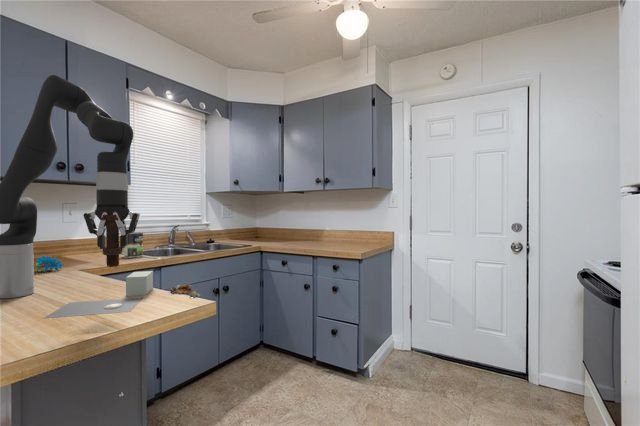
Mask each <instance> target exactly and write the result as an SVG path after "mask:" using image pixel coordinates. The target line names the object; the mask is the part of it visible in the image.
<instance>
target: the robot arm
mask: <svg viewBox="0 0 640 426" xmlns="http://www.w3.org/2000/svg"><path fill="white" fill-rule="evenodd" d="M54 107H56V108H59V109H61V110H64V111H67V112H68V113H74V114H76V117H77V118H78V119H77V120H79V121H80V122H81V123H82V124H83V125H84V126H85V127H86V128H87V130H88V133H89V135H90V136H89V137H91V139H93V140H94V141H96V142H99V143H104V144H110V145H115V146H114V149H113V150H110V151H109V150H108V151H101V152H98V154H97V158H96V159H97V161H96V162H97V163H96V164H97V165H96V166H97V167H96V169H97V170H96V172H97V174H96V178H95V179H96V185H95V186H96V187H95V189H96V191H95V192H96V193H95V194H96V199H95V200H96V207H95V210H94V211H92V212H85V213H83V219H84V221H85V224H86V227H87V230H88V232H89V234H93V235H96V239H97V240H96V242H97V243H96V245H97V247H98V248H99V250H103V249H104V248H106V231H107V229H106V225H105V224H106V220H101V218H102V217H103V215H117V218H118V220H115V221H116V224H117V226H118V229H119V234H120V235H119V247H120V248H122V249H124V248H125V246H127V244H128V243H127V236H128V234H130V233H136V232H135V231H136V229H137V225H138V222H139V219H140V216H141V214H140V213H138V212H133V211H131V210H130V209H129V207H128V206H129V205H128V203H129V200H128V199H129V198H128V197H129V192H128V191H129V190H128V189H129V185H128V184H129V183H128V182H129V181H128V173H127V170H128V169H127V166H128V165H127V160H128V155H129V152H130V149H131V146H132V143H133V139H134V130H133V128H132V126H131V125H130V123H129V122H126V121H123V120H119V119H113V118H112V116H111V114H109V112H107V111H106V110H104V109H103V108H102V107H101V106H99V105H98V104H96V103H95V102H94V100H93V99H92V97H91V96H90V94H89V93H88V92H87V91H86V90H85V89H84V88H83V87H81V86H79V85H78V84H76V83H73V82H71V81H70V80H68V79H65V78H63V77H61V76H59V75H57V74H51V75H49V76H48V77H47V78H46V79H45V80H44V82H43V83H42V85H41V88H40V91H39V93H38V96H37V100H36V102H35V105H34V109H33V112H32V114H31V118H30V120H29V122H28V123H27V126H26V129H25V130H24V132H23V135H22V137H21V138H20V141H19V143H18V145H17V147H16V149H15V152H14V154H13V157H12V160H11V161H10V163H9V164H10V165H8V169H7V170H6V172H5V174H4V176H3V178H2V180H1V181H0V225H9V227H8V229H6V231H4V232H3V233H0V299H13V298H20V297H25V296H29V295H32V294H34V293H35V283H34V282H35V269H34V268H35V264H34V259H35V258H34V257H35V256H34V238H35V237H36V234H37V227H38V223H37V222H38V208H37V204H36V202H35V201H34V199H32V198H30V197H28V196H22V195H23V193H24V192H25V190H26V189H27V188H28V186H29V185H31V184H32V183H33V182H34V181H35V180H37V179H38V178H39V177H41V176H42V175H43V174H44V173H45V172H46V171H47V170H48V169H49V168H50V167H51V165H52V163H53V161H54V159H55V157H56V154H57V152H58V142H57V138H56V136H55V132H54V129H53V125H52V113H53V109H54ZM101 215H102V217H101ZM119 215H121V216H122V220H120V218H119ZM96 217H97V218H98V220H99V222H98V223H99V224H98V227H97V225H96V222H95V220H96ZM128 217H129V219H130V222H129V226H128V229H127V223H126V222H125V220H126V219H127V218H128Z"/></svg>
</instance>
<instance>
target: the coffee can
mask: <svg viewBox="0 0 640 426" xmlns="http://www.w3.org/2000/svg"><path fill="white" fill-rule="evenodd" d="M127 243H128V244H127V246H125V248H123V258H124V259H129V258H130V259H131V258H133V259H135V258H141V257H143V256H144V232H133V233H130V234H128V236H127Z"/></svg>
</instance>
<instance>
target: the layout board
mask: <svg viewBox="0 0 640 426" xmlns="http://www.w3.org/2000/svg"><path fill="white" fill-rule="evenodd" d="M143 299H144V297H134V298H133V297H129V298H116V299H115V298H113V299H103V300H102V299H101V300H99V299H98V300H88V301H87V300H86V301H71V302H68V303H66V304H65V305H63V306H61V307H59V308H58V309H56V310H54V311H53V312H52V313H50V314H48V315H46V316H45V317H43V319H51V318H52V319H53V318H65V317H78V316H92V315H106V314H116V313H117V314H118V313H128V312H129V313H130V312H132V311H133V310H134V309H135V308H136V307H137V305H139V303H140V302H141V301H143Z"/></svg>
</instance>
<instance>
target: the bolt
mask: <svg viewBox="0 0 640 426" xmlns="http://www.w3.org/2000/svg"><path fill="white" fill-rule="evenodd" d="M101 217H102V215H101ZM119 218H120V220H122V216H121V215H119ZM101 220H106V224H105V225H106V231H105V243H106V244H105V248H104V249H102V255H104V256H105V257H106V258H105V261H106V262H105V263H106V266H107V267H108V268H114V267H115V268H116V267H118V266H120V255H123V248H120V230H119V228H118V226H117V224H116V221H115V220H118V218H117V215H103V217H102V218H101Z"/></svg>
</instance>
